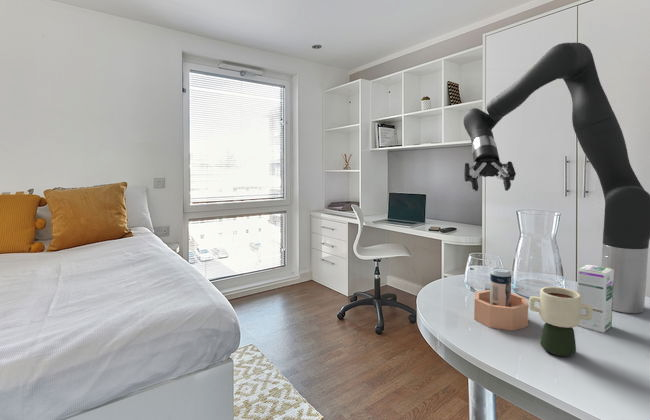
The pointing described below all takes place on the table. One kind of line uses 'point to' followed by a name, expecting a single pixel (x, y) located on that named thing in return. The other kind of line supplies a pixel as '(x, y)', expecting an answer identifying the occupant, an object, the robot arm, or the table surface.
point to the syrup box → (596, 296)
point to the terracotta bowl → (501, 312)
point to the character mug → (559, 318)
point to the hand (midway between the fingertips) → (491, 189)
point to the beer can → (500, 287)
